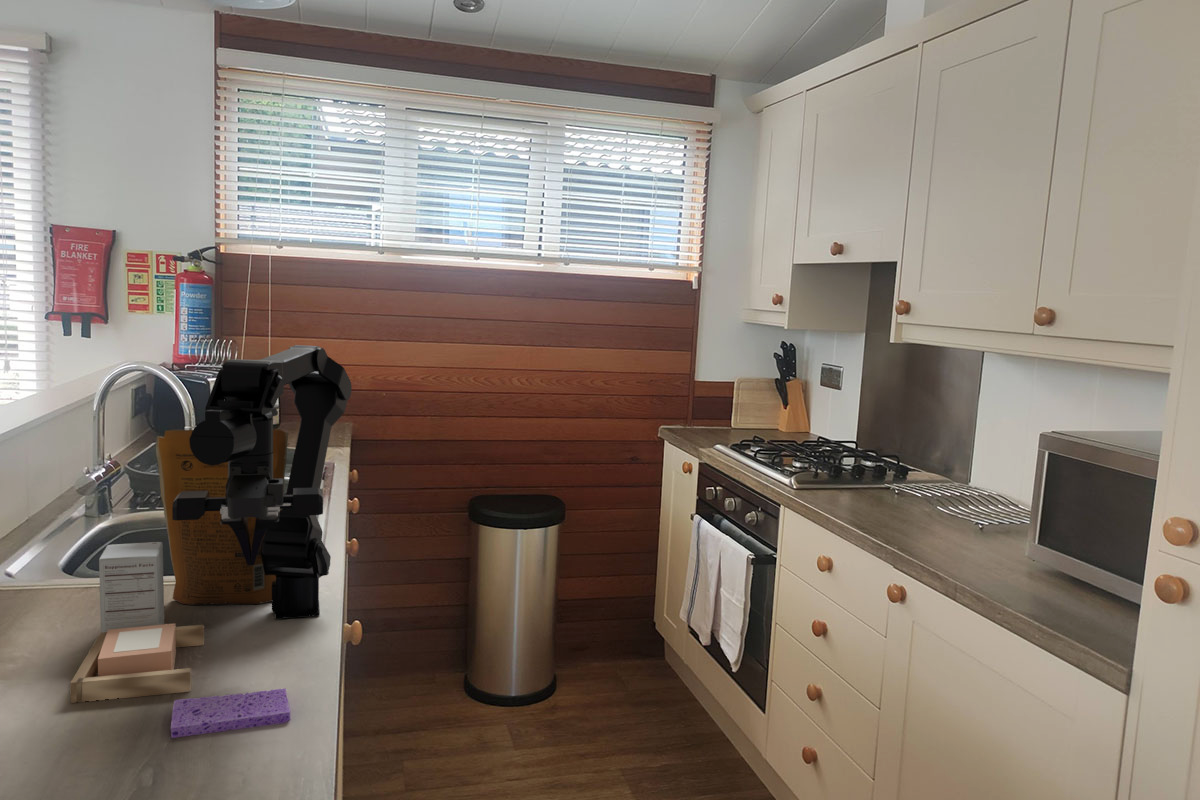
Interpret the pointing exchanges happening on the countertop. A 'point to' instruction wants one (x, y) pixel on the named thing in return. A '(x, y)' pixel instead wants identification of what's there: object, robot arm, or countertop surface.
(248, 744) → the countertop surface
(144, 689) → the u-shaped wooden frame
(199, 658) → the countertop surface
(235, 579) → the pancake mix bag
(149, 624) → the supplement box
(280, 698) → the sponges
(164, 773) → the countertop surface
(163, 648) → the carton
